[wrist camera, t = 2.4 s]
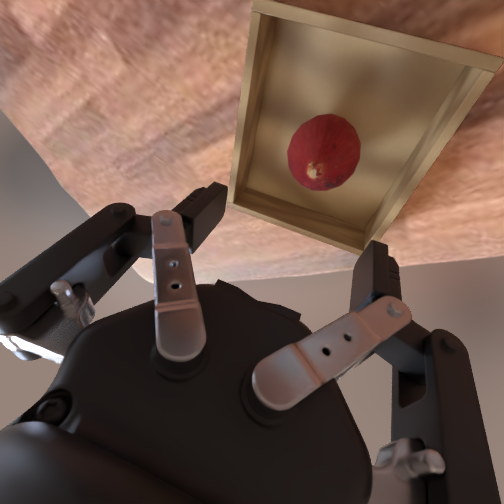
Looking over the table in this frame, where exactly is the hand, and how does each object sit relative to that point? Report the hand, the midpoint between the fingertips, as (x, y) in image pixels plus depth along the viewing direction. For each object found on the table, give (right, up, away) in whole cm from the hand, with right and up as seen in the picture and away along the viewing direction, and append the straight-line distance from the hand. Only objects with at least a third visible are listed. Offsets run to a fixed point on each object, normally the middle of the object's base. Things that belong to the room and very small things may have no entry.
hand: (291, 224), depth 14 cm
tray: (+5, +9, +10) cm, 15 cm away
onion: (+5, +9, +10) cm, 15 cm away
